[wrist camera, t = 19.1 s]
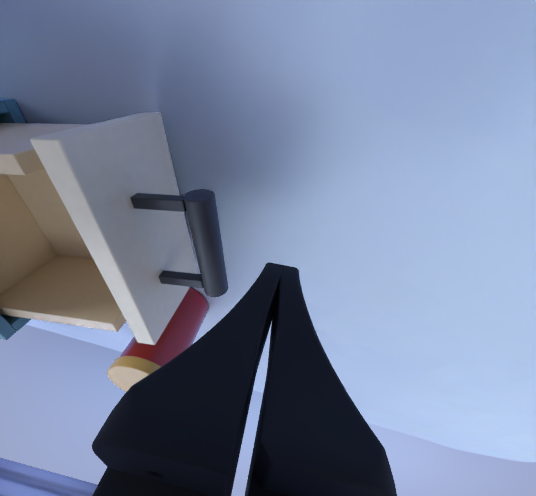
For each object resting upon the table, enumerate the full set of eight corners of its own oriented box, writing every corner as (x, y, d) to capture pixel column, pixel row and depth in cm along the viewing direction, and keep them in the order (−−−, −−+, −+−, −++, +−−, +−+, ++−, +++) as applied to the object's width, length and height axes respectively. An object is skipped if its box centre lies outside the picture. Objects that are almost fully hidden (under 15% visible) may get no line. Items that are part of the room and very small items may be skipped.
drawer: (233, 112, 13) (172, 141, 8) (247, 278, 20) (220, 355, 14) (-23, 111, 15) (-206, 132, 10) (67, 259, 22) (-13, 319, 17)
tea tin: (157, 300, 25) (100, 380, 18) (175, 275, 22) (116, 358, 16) (197, 323, 26) (156, 406, 20) (218, 302, 23) (180, 390, 17)
